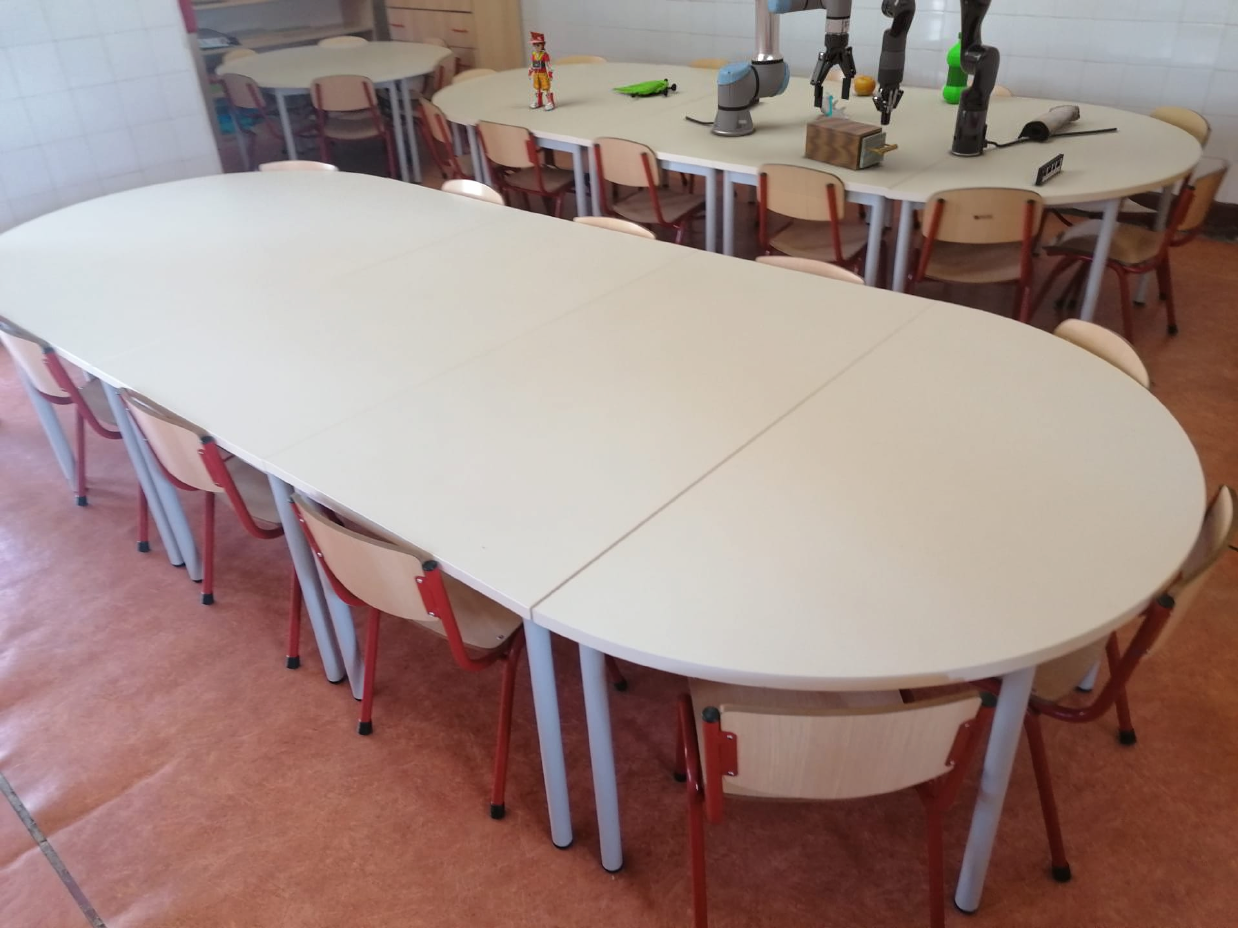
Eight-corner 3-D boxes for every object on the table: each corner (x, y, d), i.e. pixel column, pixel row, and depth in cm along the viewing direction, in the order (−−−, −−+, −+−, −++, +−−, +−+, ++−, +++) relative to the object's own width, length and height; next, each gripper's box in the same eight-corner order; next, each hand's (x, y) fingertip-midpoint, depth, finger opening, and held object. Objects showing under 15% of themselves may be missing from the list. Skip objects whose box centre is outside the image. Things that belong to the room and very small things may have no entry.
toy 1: (525, 109, 381) (517, 32, 364) (534, 104, 388) (527, 28, 371) (550, 110, 377) (543, 32, 360) (559, 105, 384) (553, 28, 367)
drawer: (898, 164, 290) (901, 135, 285) (877, 171, 285) (880, 142, 280) (834, 149, 308) (836, 121, 303) (814, 155, 303) (816, 127, 298)
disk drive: (744, 111, 360) (759, 102, 370) (744, 104, 358) (760, 95, 368) (721, 109, 365) (737, 100, 375) (721, 102, 363) (737, 93, 373)
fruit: (849, 87, 368) (861, 69, 365) (851, 91, 376) (863, 73, 373) (866, 98, 367) (878, 80, 364) (868, 102, 375) (880, 84, 372)
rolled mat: (1047, 110, 326) (1071, 92, 318) (1060, 131, 326) (1086, 114, 318) (1013, 133, 309) (1038, 115, 301) (1028, 155, 309) (1053, 137, 301)
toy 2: (686, 85, 398) (631, 84, 414) (685, 72, 395) (629, 72, 411) (651, 104, 381) (596, 103, 397) (650, 92, 378) (594, 91, 394)
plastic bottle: (973, 101, 354) (984, 32, 339) (955, 106, 349) (966, 36, 335) (952, 97, 361) (962, 29, 346) (934, 102, 356) (944, 33, 342)
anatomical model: (812, 91, 345) (837, 84, 345) (815, 118, 351) (840, 111, 351) (822, 101, 333) (849, 93, 332) (825, 128, 339) (851, 121, 338)
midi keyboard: (1039, 185, 269) (1043, 168, 266) (1035, 184, 270) (1038, 168, 267) (1060, 170, 279) (1064, 154, 277) (1056, 169, 280) (1060, 153, 277)
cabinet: (878, 162, 297) (882, 127, 290) (855, 170, 291) (859, 134, 284) (827, 149, 311) (830, 116, 305) (804, 157, 305) (806, 123, 299)
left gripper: (820, 40, 275) (815, 112, 287) (871, 28, 288) (864, 97, 300) (801, 38, 280) (797, 108, 292) (853, 26, 293) (847, 94, 305)
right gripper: (887, 71, 267) (881, 131, 277) (915, 63, 273) (907, 122, 283) (867, 68, 272) (861, 127, 282) (895, 60, 278) (888, 118, 288)
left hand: (831, 103), depth 296 cm, fingers open, 13 cm apart
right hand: (884, 124), depth 282 cm, fingers closed
